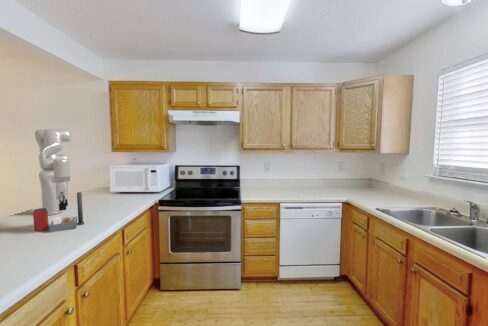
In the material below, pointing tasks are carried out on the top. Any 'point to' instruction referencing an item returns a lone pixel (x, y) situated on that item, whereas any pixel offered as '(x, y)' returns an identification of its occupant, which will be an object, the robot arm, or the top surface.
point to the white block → (57, 220)
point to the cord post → (80, 208)
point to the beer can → (40, 219)
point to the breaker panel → (64, 224)
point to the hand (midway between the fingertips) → (63, 208)
